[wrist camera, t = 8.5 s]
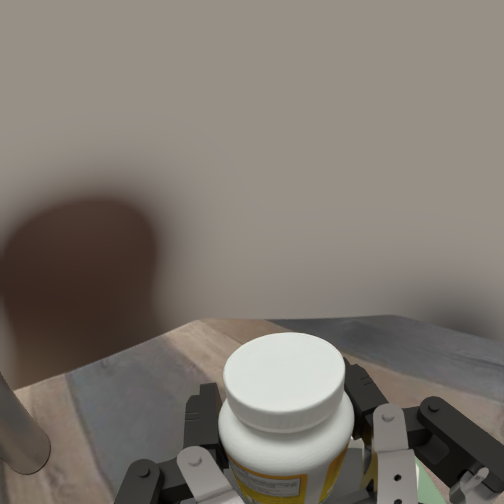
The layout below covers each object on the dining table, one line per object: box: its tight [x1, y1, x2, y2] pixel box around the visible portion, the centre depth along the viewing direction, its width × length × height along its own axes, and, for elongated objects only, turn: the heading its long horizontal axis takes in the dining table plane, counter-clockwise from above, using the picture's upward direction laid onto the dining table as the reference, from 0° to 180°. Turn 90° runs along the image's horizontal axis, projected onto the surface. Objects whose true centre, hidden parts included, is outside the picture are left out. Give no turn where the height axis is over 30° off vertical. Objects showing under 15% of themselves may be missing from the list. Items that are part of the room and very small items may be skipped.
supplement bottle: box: [218, 333, 354, 504], centre depth 9 cm, size 5×5×10 cm
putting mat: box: [322, 436, 446, 504], centre depth 16 cm, size 16×16×3 cm
